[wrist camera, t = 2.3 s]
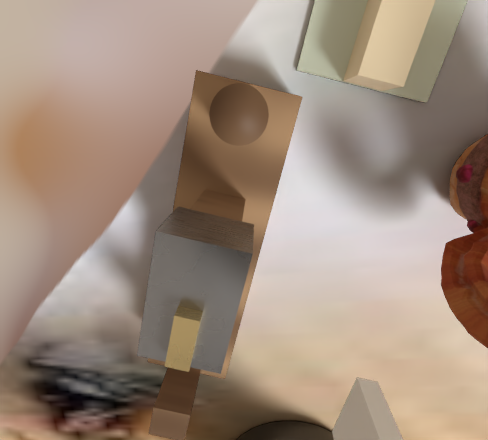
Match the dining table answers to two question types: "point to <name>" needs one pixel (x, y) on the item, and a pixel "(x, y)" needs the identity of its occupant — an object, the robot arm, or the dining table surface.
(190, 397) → the wooden peg board
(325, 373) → the dining table surface
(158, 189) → the dining table surface
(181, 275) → the lever cap
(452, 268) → the mug
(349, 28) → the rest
